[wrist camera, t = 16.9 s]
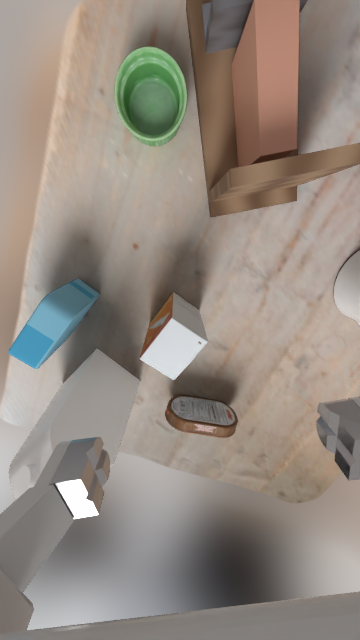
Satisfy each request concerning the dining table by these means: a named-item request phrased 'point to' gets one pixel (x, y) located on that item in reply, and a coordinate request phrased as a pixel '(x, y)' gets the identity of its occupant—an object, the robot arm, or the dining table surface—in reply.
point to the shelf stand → (219, 120)
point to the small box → (174, 337)
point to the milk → (78, 417)
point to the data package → (53, 322)
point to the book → (267, 82)
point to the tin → (201, 416)
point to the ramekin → (151, 95)
